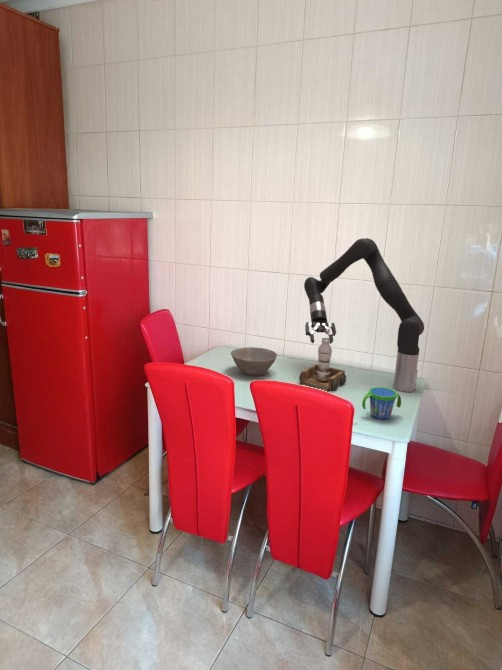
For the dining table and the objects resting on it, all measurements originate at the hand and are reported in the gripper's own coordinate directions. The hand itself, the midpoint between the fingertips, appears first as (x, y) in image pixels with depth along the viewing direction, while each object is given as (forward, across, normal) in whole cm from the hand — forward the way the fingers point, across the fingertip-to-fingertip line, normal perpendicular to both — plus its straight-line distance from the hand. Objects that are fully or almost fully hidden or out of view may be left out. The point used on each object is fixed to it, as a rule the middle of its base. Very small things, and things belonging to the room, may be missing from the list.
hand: (322, 342), depth 215 cm
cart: (+18, -1, +9) cm, 20 cm away
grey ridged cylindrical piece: (+15, 0, +9) cm, 18 cm away
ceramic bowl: (+6, -30, +20) cm, 37 cm away
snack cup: (+42, +14, -16) cm, 47 cm away
